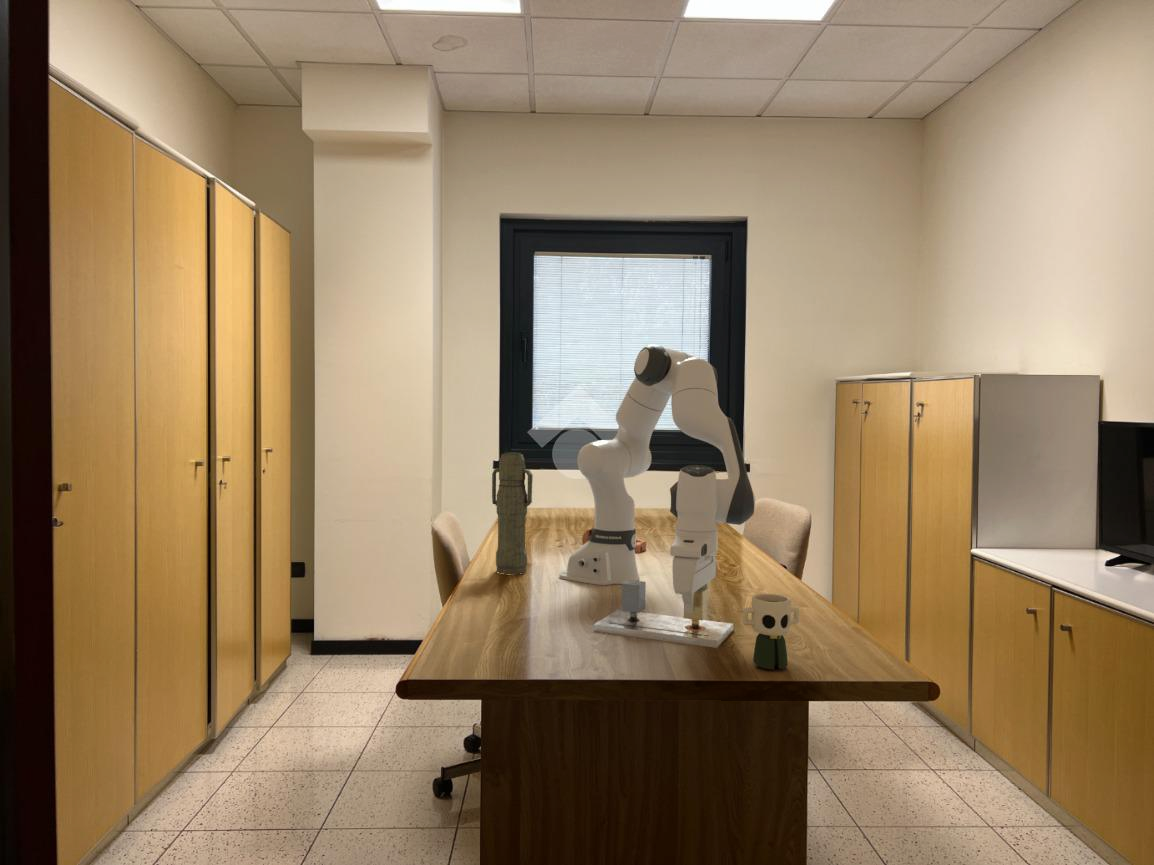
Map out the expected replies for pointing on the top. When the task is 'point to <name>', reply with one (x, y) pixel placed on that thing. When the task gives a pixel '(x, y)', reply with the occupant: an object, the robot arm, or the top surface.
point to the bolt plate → (659, 622)
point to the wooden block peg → (698, 607)
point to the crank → (639, 548)
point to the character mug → (771, 628)
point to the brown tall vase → (511, 512)
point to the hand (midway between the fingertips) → (695, 607)
